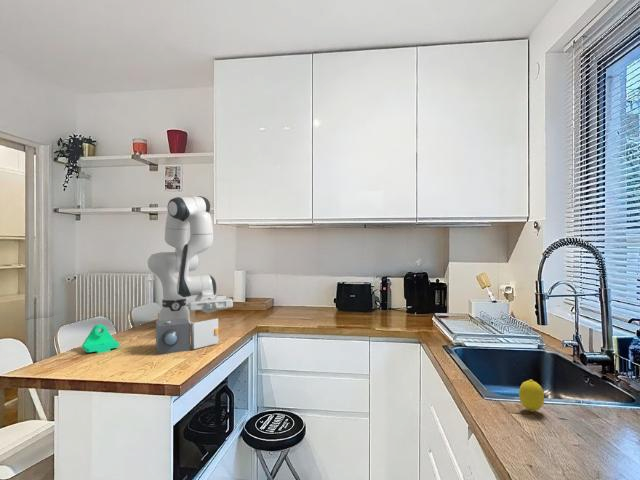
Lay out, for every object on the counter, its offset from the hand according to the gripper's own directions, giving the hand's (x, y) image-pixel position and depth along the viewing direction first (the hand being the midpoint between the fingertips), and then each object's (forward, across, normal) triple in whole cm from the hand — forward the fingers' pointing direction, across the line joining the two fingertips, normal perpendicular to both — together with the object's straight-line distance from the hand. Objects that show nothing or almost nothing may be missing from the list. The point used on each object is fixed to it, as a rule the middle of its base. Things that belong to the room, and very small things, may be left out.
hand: (213, 306), depth 180 cm
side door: (+13, -6, +15) cm, 21 cm away
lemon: (+116, +54, +20) cm, 130 cm away
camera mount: (-3, -45, +15) cm, 47 cm away
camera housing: (+10, -19, +15) cm, 26 cm away
